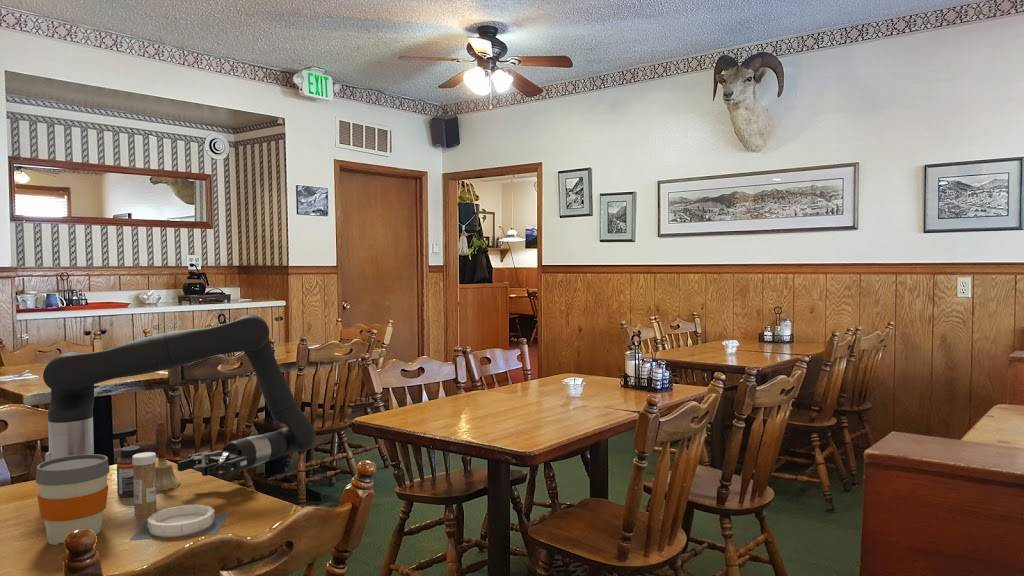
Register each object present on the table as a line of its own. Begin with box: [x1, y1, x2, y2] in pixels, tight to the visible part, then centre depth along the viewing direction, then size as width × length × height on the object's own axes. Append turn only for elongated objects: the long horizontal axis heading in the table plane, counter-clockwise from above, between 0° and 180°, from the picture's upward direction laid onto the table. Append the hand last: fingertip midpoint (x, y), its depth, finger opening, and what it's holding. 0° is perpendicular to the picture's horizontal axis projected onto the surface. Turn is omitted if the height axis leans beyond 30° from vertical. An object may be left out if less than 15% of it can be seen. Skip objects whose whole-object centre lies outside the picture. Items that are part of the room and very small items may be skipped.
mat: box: [129, 513, 230, 541], centre depth 143 cm, size 16×12×1 cm
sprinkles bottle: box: [132, 451, 158, 518], centre depth 151 cm, size 5×5×14 cm
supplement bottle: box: [116, 445, 141, 499], centre depth 165 cm, size 6×6×11 cm
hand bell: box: [155, 421, 182, 492], centre depth 172 cm, size 8×8×16 cm
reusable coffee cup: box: [35, 453, 111, 546], centre depth 139 cm, size 13×13×15 cm
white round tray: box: [146, 503, 215, 538], centre depth 143 cm, size 12×12×2 cm
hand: (190, 469), depth 161 cm, fingers open, 8 cm apart
